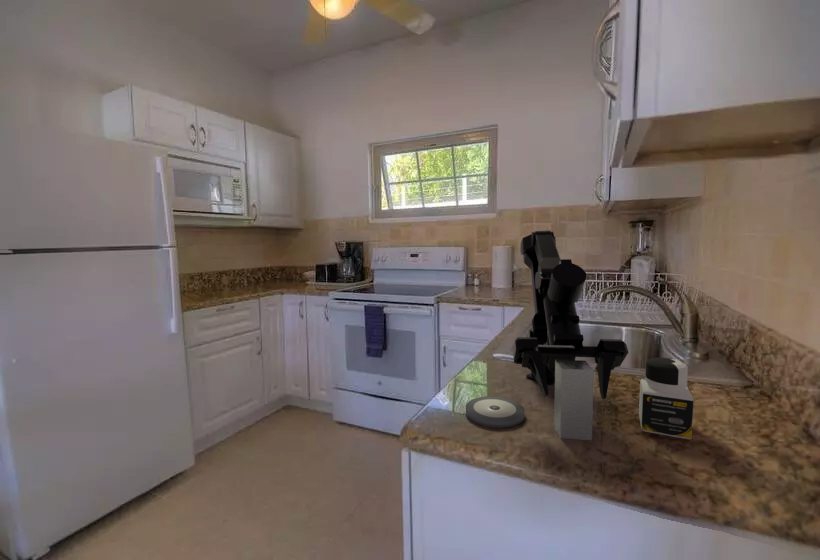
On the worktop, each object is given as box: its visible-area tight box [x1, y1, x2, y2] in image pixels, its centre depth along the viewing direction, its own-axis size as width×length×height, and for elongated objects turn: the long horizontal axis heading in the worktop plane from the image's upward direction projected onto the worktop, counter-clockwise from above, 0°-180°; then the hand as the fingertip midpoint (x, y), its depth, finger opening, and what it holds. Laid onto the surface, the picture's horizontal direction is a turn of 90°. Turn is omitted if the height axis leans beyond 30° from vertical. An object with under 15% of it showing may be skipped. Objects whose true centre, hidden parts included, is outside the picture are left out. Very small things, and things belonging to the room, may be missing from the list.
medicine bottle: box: [638, 357, 695, 440], centre depth 67 cm, size 7×7×12 cm
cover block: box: [553, 359, 595, 441], centre depth 66 cm, size 5×5×12 cm
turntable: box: [465, 395, 525, 429], centre depth 74 cm, size 11×11×1 cm
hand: (575, 397), depth 64 cm, fingers open, 9 cm apart
